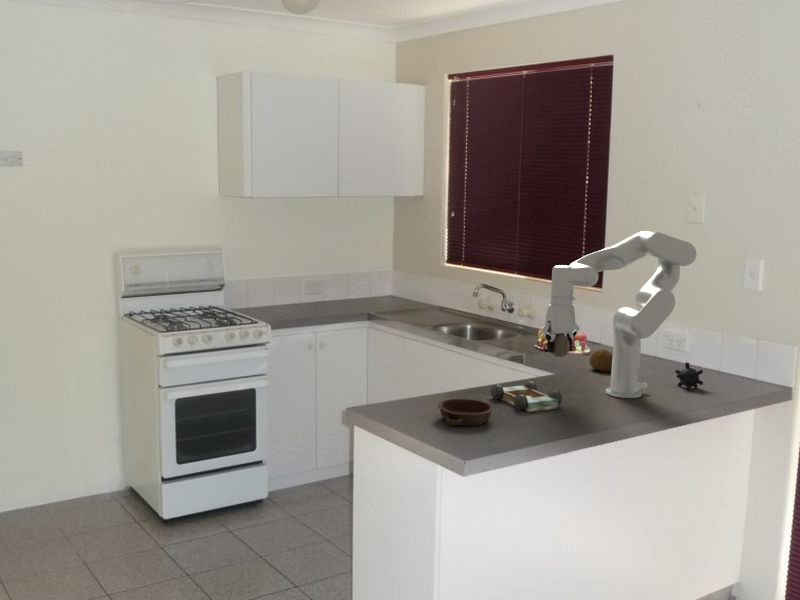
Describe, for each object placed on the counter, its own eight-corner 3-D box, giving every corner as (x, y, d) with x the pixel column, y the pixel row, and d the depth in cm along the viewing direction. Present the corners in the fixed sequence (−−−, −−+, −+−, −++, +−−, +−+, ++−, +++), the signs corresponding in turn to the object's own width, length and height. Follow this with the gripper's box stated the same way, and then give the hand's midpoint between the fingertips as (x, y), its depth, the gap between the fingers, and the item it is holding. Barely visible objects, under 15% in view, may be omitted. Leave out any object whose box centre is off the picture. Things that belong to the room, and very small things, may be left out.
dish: (423, 423, 268) (424, 408, 267) (456, 408, 287) (456, 393, 286) (475, 434, 260) (475, 418, 259) (504, 417, 278) (505, 402, 278)
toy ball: (694, 386, 317) (667, 373, 324) (696, 400, 325) (669, 387, 332) (709, 366, 320) (681, 353, 327) (710, 381, 328) (683, 368, 335)
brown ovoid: (553, 353, 310) (554, 328, 308) (572, 355, 306) (573, 331, 305) (546, 356, 304) (547, 331, 302) (565, 359, 300) (566, 334, 299)
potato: (611, 375, 343) (613, 353, 342) (584, 370, 351) (586, 348, 349) (621, 372, 349) (623, 351, 348) (594, 367, 357) (596, 346, 356)
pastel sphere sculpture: (536, 353, 382) (538, 332, 381) (531, 342, 405) (532, 323, 404) (594, 355, 381) (595, 335, 380) (584, 345, 404) (586, 325, 403)
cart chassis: (527, 393, 310) (528, 379, 309) (562, 407, 292) (563, 393, 291) (489, 397, 302) (490, 383, 302) (523, 412, 285) (524, 397, 284)
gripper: (574, 298, 309) (572, 347, 312) (534, 300, 301) (532, 351, 304) (588, 301, 303) (585, 351, 305) (548, 304, 295) (545, 355, 297)
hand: (559, 350), depth 305 cm, fingers closed on brown ovoid, 7 cm apart
